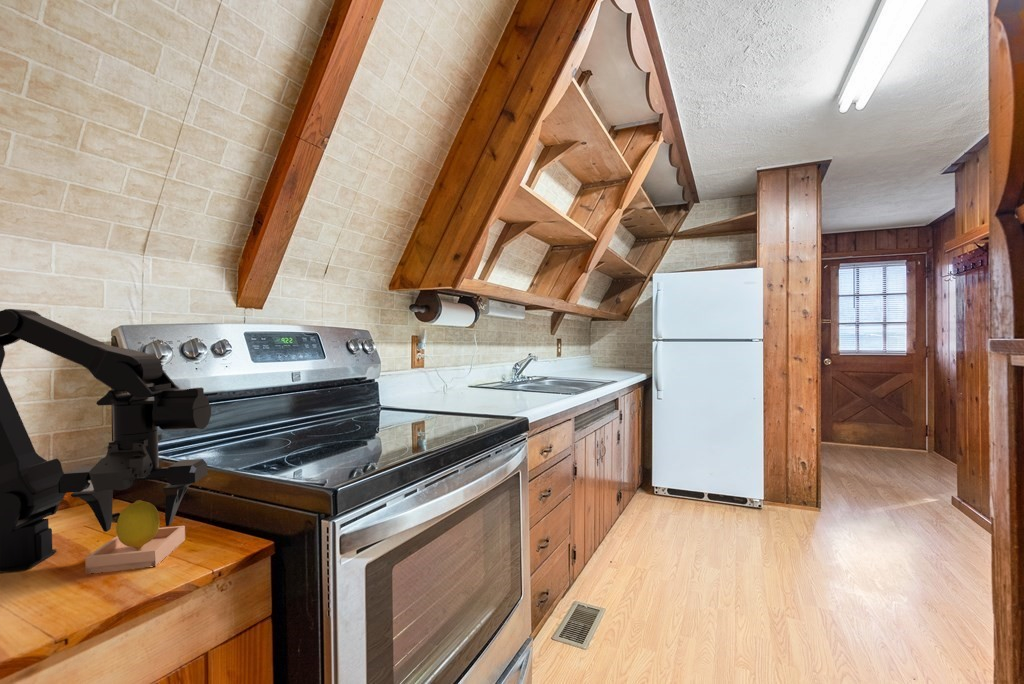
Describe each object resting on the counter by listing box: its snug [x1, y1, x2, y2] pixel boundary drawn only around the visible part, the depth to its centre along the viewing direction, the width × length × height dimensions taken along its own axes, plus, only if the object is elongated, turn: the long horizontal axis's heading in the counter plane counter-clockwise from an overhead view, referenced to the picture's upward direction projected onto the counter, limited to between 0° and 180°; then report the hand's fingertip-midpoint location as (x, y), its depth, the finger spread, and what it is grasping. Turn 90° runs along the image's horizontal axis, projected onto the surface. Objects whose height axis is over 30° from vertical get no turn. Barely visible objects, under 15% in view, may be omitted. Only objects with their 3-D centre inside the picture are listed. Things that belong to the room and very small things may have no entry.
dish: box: [84, 525, 186, 575], centre depth 79 cm, size 9×10×2 cm
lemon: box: [116, 499, 160, 549], centre depth 79 cm, size 6×6×8 cm
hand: (138, 528), depth 79 cm, fingers open, 8 cm apart
